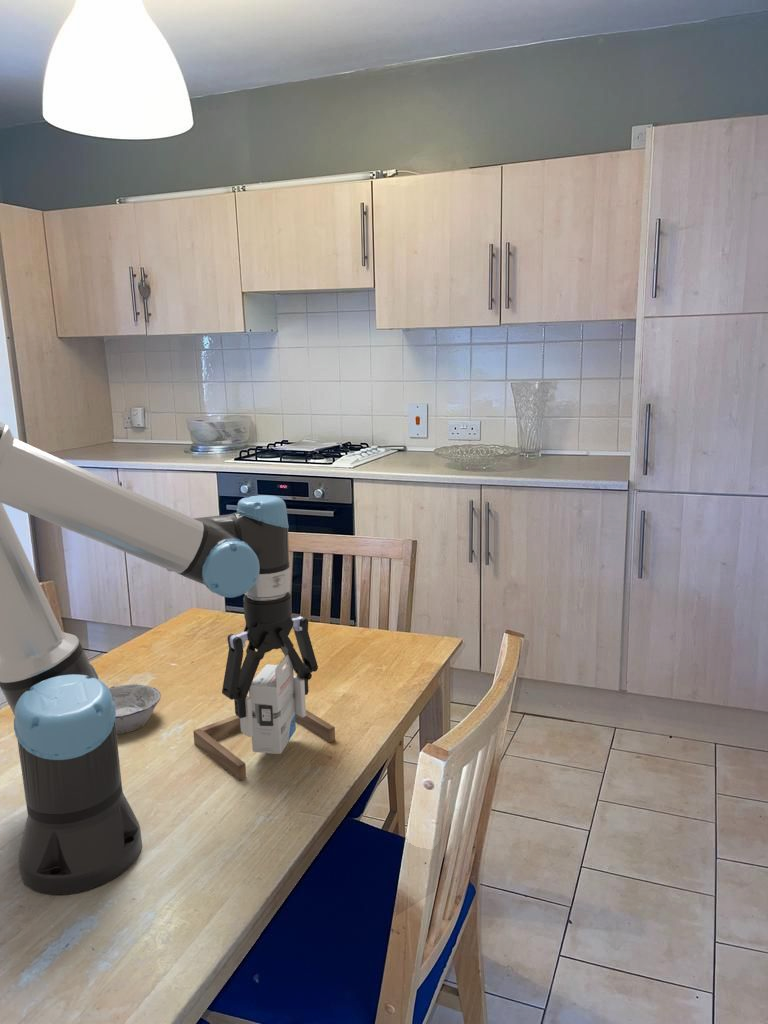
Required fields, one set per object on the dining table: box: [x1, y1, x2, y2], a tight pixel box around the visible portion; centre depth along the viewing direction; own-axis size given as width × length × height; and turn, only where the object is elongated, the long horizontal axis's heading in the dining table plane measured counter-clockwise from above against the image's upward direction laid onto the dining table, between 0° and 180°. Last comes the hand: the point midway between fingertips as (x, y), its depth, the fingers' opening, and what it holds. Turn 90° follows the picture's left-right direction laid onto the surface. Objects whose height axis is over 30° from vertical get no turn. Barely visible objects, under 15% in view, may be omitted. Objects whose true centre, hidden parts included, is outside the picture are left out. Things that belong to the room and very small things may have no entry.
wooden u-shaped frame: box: [192, 709, 336, 781], centre depth 132 cm, size 18×15×2 cm
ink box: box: [248, 654, 297, 755], centre depth 127 cm, size 9×5×15 cm, turn 168°
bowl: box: [108, 683, 162, 735], centre depth 140 cm, size 13×13×5 cm
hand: (273, 723), depth 128 cm, fingers closed on ink box, 9 cm apart
